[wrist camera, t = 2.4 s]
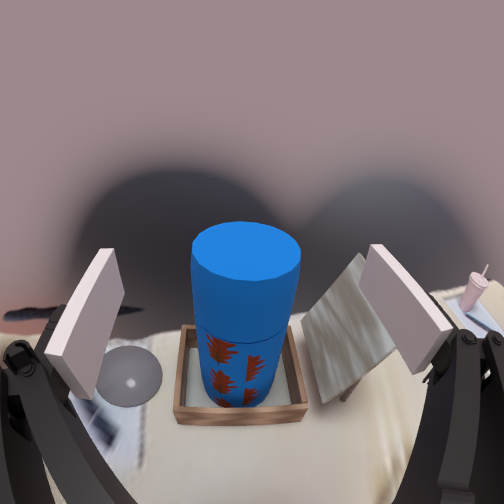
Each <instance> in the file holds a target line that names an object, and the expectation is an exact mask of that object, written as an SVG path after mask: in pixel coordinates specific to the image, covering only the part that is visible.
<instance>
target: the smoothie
mask: <svg viewBox="0 0 504 504" xmlns="http://www.w3.org/2000/svg"><path fill="white" fill-rule="evenodd" d="M487 268H488V264H487V266H486V268H485V270H484V272H483V274H482V275H480V274H478V273H475V272H472V273H471V275H470V277H469V278H470V279H469V282H468V284H467V287H466V289H465V292H464V294H463V296H462V299H461V301H460V303H459V307H460V309H461V310H463V311H464V312H468V311H469V310H470V309H471V307H472V306H473V305H474V304H475V302H476V301H477V300H478V298H479V297H480V296H481V294H482V293H483V292H484V290H486V289H487V287H488V285H489V284H488V281H487V280H486V279H485V278H484V277H483V276H484V274H485V272H486V270H487Z"/></svg>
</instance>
